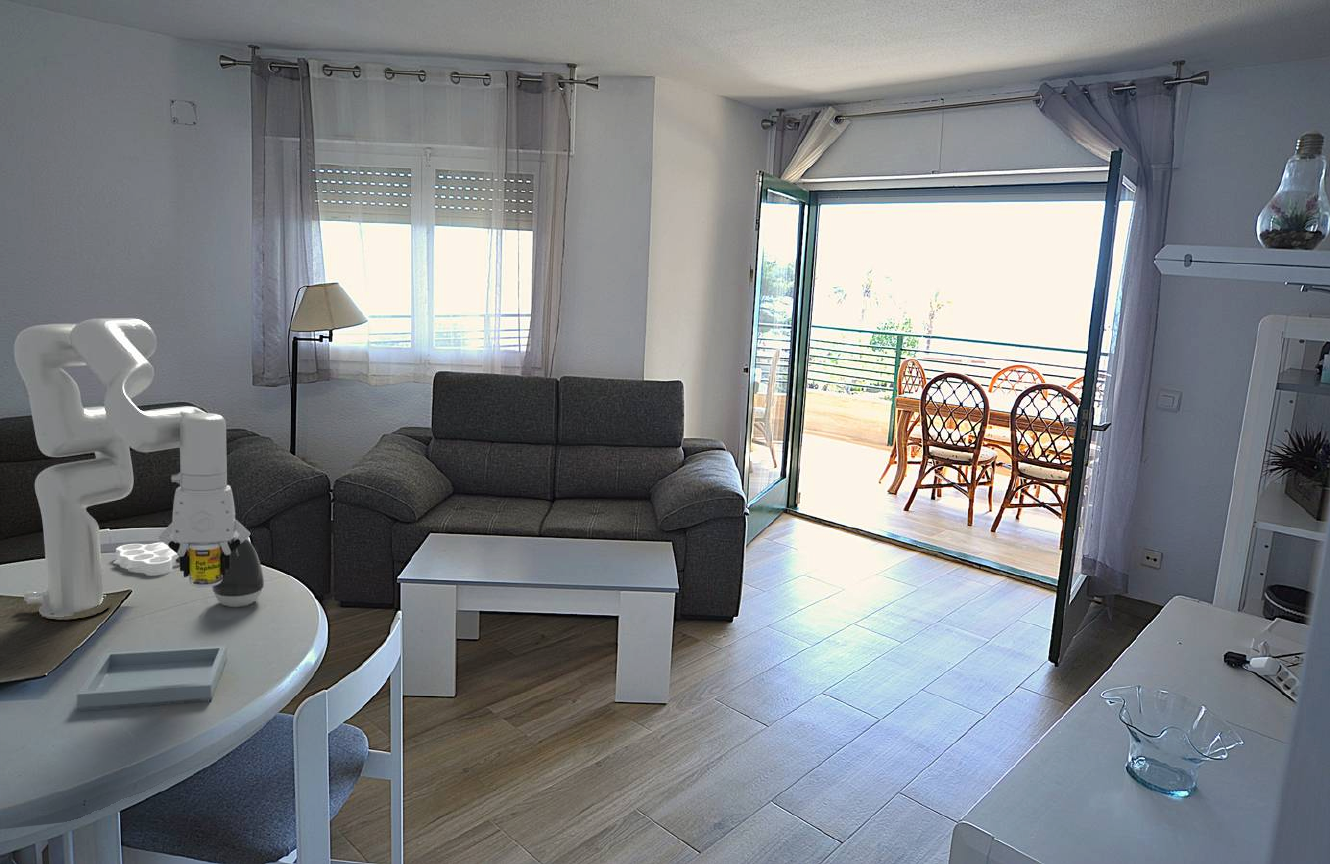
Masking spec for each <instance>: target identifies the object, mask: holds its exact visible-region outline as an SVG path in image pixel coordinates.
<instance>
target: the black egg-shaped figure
mask: <svg viewBox="0 0 1330 864" xmlns="http://www.w3.org/2000/svg"><path fill="white" fill-rule="evenodd" d="M237 537H238V536H236V537H233V538H232V539H231V540H230V542H232V541H233V540H234V539H235V538H237ZM222 551H223V550H222ZM222 576H223V578H222V581H221V582H220V583H219V584H217V585H215V586H211V587H212V592H213V593H214V596H215V598H216V600H217V602H219V603H220V604H222V605H223V606H225V607H229V608H242V607H247V606H249V605H251V604H253V603H254V602H255V601H257V600H258V599H259V597H260V596H261V593H262V591H263V589H264V586H265V580H264V575H263V568H262V565H261V561H260V559H259V556H258V553H257V551H256V549H255V547H254V546H253V543H251V542H250V540H249V539H248V538H247V539H246V540H245V541H243V542H242V543H241V544H240V545H239V546H238V547H237V548H236V549H234V550H233V551H232V552H231V568H230V569H227V572H226V575H222Z"/></svg>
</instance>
